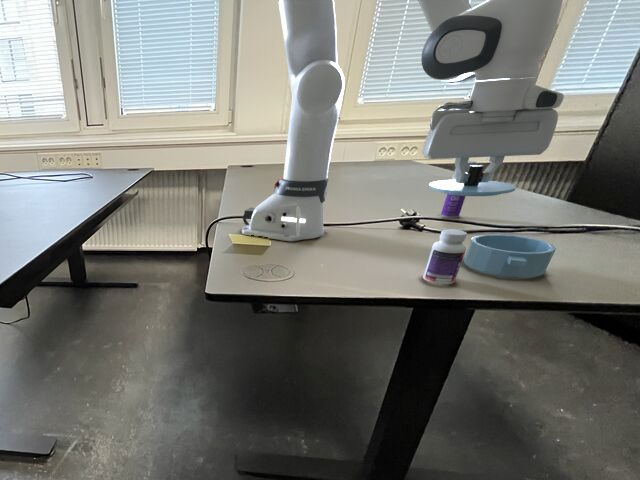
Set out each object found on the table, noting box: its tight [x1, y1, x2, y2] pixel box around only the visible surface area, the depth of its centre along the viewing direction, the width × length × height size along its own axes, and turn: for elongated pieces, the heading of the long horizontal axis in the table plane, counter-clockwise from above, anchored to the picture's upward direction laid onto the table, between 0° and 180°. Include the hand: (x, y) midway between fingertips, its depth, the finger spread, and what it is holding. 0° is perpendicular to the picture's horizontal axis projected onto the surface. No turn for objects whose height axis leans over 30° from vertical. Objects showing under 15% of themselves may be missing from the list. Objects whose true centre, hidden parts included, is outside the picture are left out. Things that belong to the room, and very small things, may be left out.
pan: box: [463, 233, 557, 278], centre depth 84 cm, size 13×19×5 cm
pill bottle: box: [422, 229, 468, 285], centre depth 78 cm, size 5×5×10 cm
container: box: [440, 160, 477, 219], centre depth 119 cm, size 5×5×15 cm
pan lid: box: [428, 164, 517, 197], centre depth 79 cm, size 14×14×5 cm
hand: (471, 182), depth 80 cm, fingers closed on pan lid, 2 cm apart
